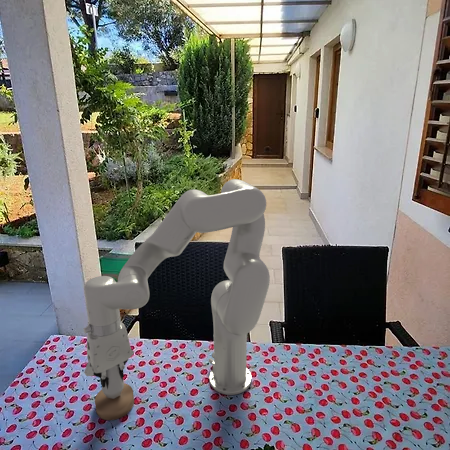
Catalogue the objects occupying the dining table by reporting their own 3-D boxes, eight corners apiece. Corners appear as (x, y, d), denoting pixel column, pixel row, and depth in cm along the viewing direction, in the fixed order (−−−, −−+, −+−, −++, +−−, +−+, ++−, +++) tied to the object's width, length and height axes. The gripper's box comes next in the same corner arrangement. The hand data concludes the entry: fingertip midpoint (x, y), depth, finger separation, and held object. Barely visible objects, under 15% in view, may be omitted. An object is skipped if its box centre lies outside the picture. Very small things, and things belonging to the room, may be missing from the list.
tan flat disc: (90, 403, 94) (89, 395, 93) (124, 385, 100) (123, 377, 100) (105, 427, 87) (103, 417, 86) (140, 406, 93) (139, 397, 92)
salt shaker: (118, 403, 89) (113, 361, 85) (98, 399, 90) (92, 358, 87) (128, 386, 95) (124, 346, 91) (110, 383, 96) (104, 344, 92)
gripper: (77, 345, 78) (87, 408, 84) (141, 318, 89) (147, 376, 94) (66, 330, 84) (77, 391, 89) (128, 307, 94) (134, 363, 99)
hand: (113, 383), depth 92 cm, fingers closed on salt shaker, 3 cm apart
